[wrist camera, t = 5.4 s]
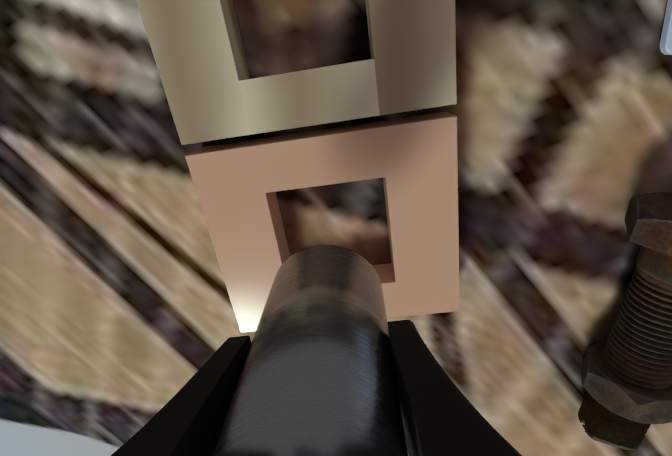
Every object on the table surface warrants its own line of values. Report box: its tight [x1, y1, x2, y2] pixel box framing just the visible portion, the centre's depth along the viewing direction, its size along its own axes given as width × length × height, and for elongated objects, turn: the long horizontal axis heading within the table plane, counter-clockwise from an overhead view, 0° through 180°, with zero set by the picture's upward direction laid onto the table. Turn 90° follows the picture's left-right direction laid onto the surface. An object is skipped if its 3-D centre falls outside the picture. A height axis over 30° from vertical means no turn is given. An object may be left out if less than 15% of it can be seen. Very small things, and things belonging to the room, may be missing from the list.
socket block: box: [185, 111, 460, 333], centre depth 19 cm, size 12×10×2 cm
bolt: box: [578, 192, 672, 450], centre depth 20 cm, size 6×5×15 cm
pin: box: [212, 245, 408, 456], centre depth 10 cm, size 4×4×7 cm
